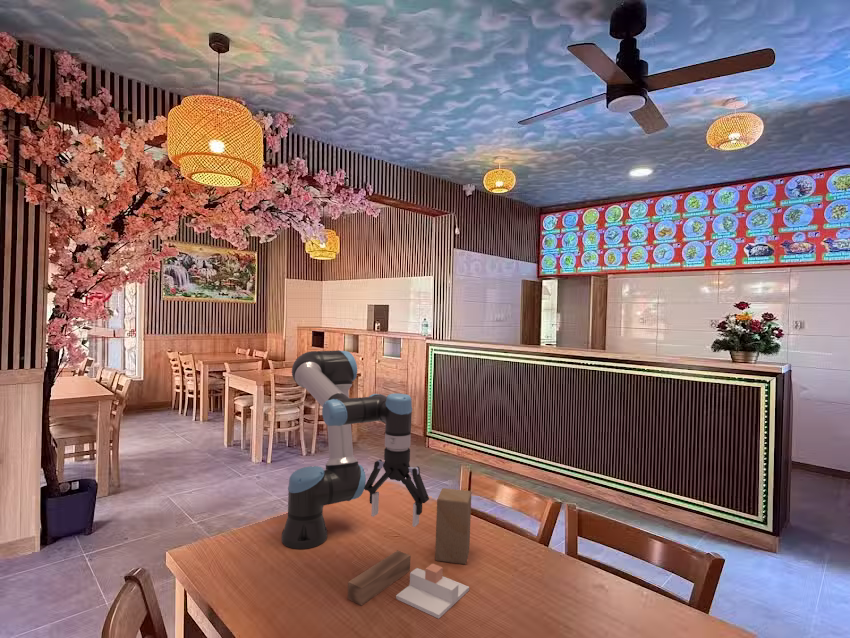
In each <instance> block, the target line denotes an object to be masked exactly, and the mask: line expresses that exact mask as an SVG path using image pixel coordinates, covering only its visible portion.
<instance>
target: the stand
mask: <svg viewBox="0 0 850 638" xmlns="http://www.w3.org/2000/svg"><path fill="white" fill-rule="evenodd" d="M443 571H444V568H443V567H442V566H440V565H438V564H436V563H433V562H432V563H431V564H430V565H428V566H427V567H426V568H425V570H424V569H423V568H422V569H421V568H418V567H416V568H415V569H413V570H412V571H410V572H409V585H408V586H406V587H405V588H404V589H402V590H401V591H399V593H397V594H396V595H395V599H396V600H398V601H399V602H402V603H403V604H406V605H408V606H411V607H413V608H415V609H417V610H419V611H421V612H423V613H426V614H428V615H430V616H431V617H434V618H436V619H440V618H442V616H443V615H444V614H446V612H448V611H449V610H450V609H452V608H453V606H454V605H455V604H457V602H459V600H461V598H462V597H464V596H465V595H466V594H467V593H468V592H469V591H470V586H468V585H465V584H463V583H461V582H458V581H455V580H454V579H451V578H449V577H446V576H443V573H444V572H443Z"/></svg>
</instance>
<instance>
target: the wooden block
mask: <svg viewBox="0 0 850 638" xmlns="http://www.w3.org/2000/svg"><path fill="white" fill-rule="evenodd" d="M471 510H472V491H471V490H464V489H454V488H445V487H442V488H441V490H440V493H439V494H438V496H437V500H436V519H435V520H436V523H435V526H436V527H435V547H434V548H435V554H434V559H435V561H437V562H444V563H452V564H460V565H466V564H467V561H468V559H469V558H468V557H469V552H470V545H471V544H470V543H471V542H470V541H471V516H472V515H471V514H472V512H471Z"/></svg>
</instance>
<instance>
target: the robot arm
mask: <svg viewBox="0 0 850 638" xmlns="http://www.w3.org/2000/svg"><path fill="white" fill-rule="evenodd" d="M357 374H358V364H357V361H356V359H355V357H354V355H353V354H352V353H351V352H350V351H348V350H313V351H311V350H310V351H307V352H305V353H302V354H300V356H298V357H297V358H296V359H295V360H294V362H293V364H292V368H291V377H292V378H293V381H294V382H295V383H296V384H297V386H298V387H301V388H303V389H305V390H306V391H307V392H308V393H309V394H310V395H311V396H312V397H313V399H315V400H316V402H317V403H318V404H319V405H320V406H321V407H322V410H321V411H322V412H321V414H322V419H323V422H324V423H325V425H327V427H326V428H327V440H328V455H329V457H328V458H329V459H328V461H327V462H326V463H325V469H324V468H323V467H322V466H319V465H317V466H316V465H314V466H311V465H310V466H305V467H302V468H299V469H297V470H295V471H293V473H291V474H290V476H289V479H288V486H287V491H288V492H287V493H288V496H287V497H288V498H287V518H286V522H285V525H284V528H283V530H282V532H281V543H282V544H283V545H284V546H285V547H287V548H290V549H295V550H296V549H298V550H305V549H310V548H315V547H317V546H320V545H321V544H323V543H325V542H326V541H327V538H328V529H327V525H326V521H325V518H324V515H323V514H324V513H323V512H324V511H323V508H324V506H328V505H333V504H337V503H338V504H339V503H342V502H351V501H352V500H356V499H359V498H360V497H361V496H362V494H363V493H364V491H367V492H369V504H370V505H371V517H373V518H374V517H375V516H377V515H378V514H379V501H380V500H379V499H380V498H379V497H380V493H379V492H380V491H378V489H380V487H381V486H382V485H383V484H384V483H385V482H386V481H387V479H389V480H391V481H392V480H393V481H394V480H395V481H397V482H401V483H402V484H403V485H404V486H405V488H406V489H407V491H408V492H409V494H410V496H411V497H412V499H413V501H414V503H412V504H413V505H412V506H413V507H412V525H411V527H413V528H416V527H417V526H418V525H419V523H420V515H421V514H422V513H423V504H425V503H427V501H429V500H430V497H429V495H428V492H427V489H426V487H425V484H424V481H423V478H422V476H421V471H420V467H419V466H418V465H417V466H416V467H412V466H411V465H410V460H411V449H410V447H411V441H412V440H411V439H412V438H411V437H412V436H411V431H412V418H413V417H412V415H413V414H412V413H413V406H412V405H413V403H412V401H413V400H412V397H411V396H410V395H409V394H406V393H390V394H388V395H387V396H386V395H384V394H382V393H381V394H379V393H373V394H371V395H369V396H363V397H350V393H349V392H350V389H351V387H352V386H353V382H354V381H355V380H356V379H357V376H358V375H357ZM372 422H382V423H384V425H385V426H384V427H385V428H384V447H385V448H384V454H383V460H384V461H382V459H378V460H376V461H375V462H374V463H373V464H374V465H373V469H372V471H371V473H370V476H369V477H368V478H367V479H366V471H365V468H364V467H363V465H361V464H359V460H358V459H357V458H356V457H355V456H354V448H353V447H354V446H353V433H352V425H355V424H362V423H372ZM381 469H383V470H384V471H385V472H384V473H383V475H381V477H380V478H379V479H378V480H377V482H376V479H377V477H378V475H379V473H380V471H381ZM409 473H410V474H409ZM411 476H412V477H411ZM412 479H413V480H412ZM366 480H367V481H366ZM374 483H375V484H374Z"/></svg>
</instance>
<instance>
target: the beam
mask: <svg viewBox="0 0 850 638" xmlns="http://www.w3.org/2000/svg"><path fill="white" fill-rule="evenodd" d="M410 572H411V555H410V554H409V553H405V552H403V551H401V550H396V551H394V552H393V553H391V554H389V556H386V557H385V558H383V559H382V560H380V561H379V562H377V563H375V564H374V565H372V566H370V567H369V568H368V569H366V570H364V571H362V572H361V573H360V574H358V575H356V576H355V577H353V578H352V579H351V580H349V581H348V582H347V600H350V601H351V602H353V603H355V604H357V605H358V606H361V607H362V606H363V605H365V604H366V603H367V602H368V601H370V600H372V599H373V598H374V597H376V596H377V595H379V594H380V593H381V592H383V591H384V590H386V589H387V588H388V587H389V586H391V585H393V584H394V583H395V582H396V581H398V580H399V579H401V578H402V577H403V576H405V575H406V574H408V573H410Z"/></svg>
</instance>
